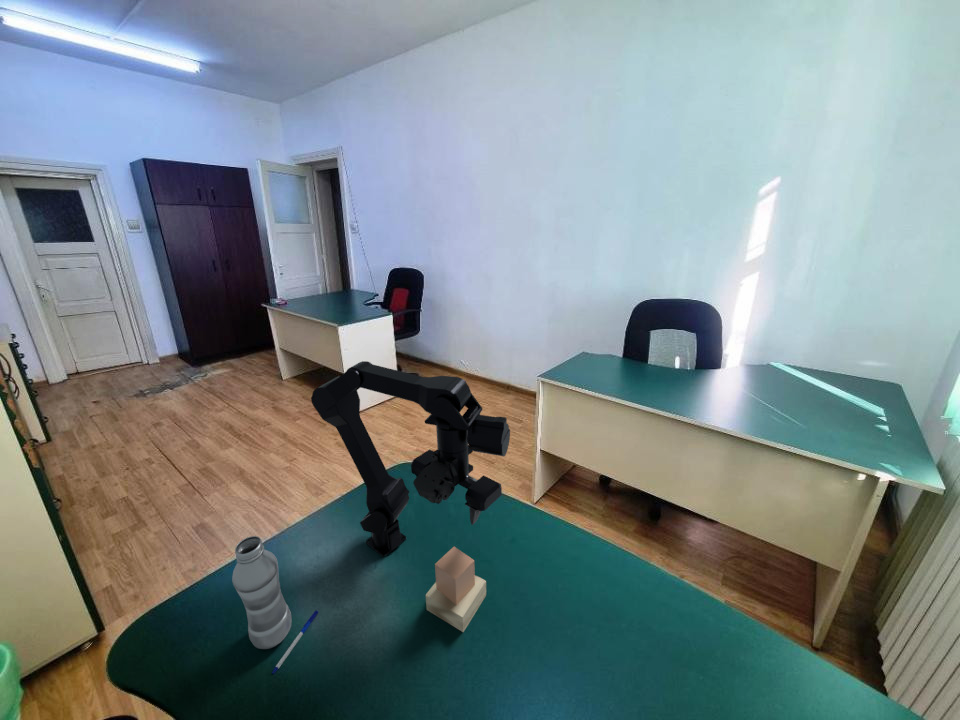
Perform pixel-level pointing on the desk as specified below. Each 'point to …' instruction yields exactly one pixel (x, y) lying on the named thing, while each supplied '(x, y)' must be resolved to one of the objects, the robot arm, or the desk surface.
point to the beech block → (456, 613)
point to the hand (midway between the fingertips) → (455, 512)
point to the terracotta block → (455, 575)
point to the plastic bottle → (261, 593)
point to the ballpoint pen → (295, 641)
